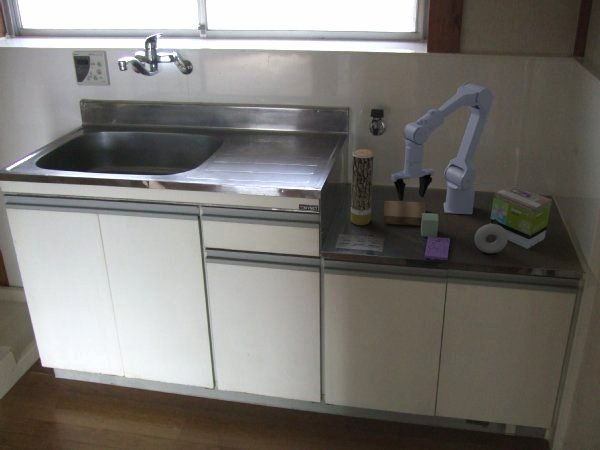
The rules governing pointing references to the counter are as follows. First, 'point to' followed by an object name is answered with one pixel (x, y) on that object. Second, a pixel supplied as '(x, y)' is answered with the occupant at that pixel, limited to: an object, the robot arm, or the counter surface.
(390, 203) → the plinth
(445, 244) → the sponges
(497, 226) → the donut
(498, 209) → the tea box
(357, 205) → the paper tube
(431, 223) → the block
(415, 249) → the counter surface
